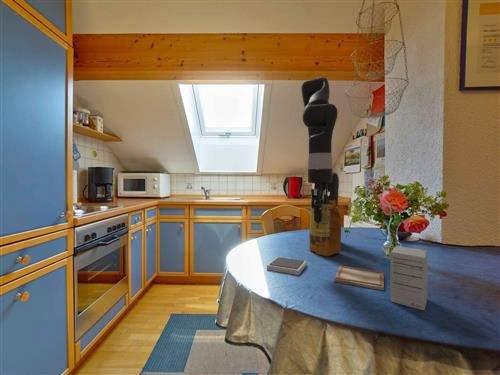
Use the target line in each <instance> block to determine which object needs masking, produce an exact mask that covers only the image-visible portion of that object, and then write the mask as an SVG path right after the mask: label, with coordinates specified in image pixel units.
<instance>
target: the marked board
mask: <svg viewBox="0 0 500 375" xmlns="http://www.w3.org/2000/svg"><path fill="white" fill-rule="evenodd" d="M333 280H334V281H333V283H338V284H345V285H350V286H356V287H361V288H367V289H368V288H369V289H373V290H380V291H385V290H384V288H385V287H384V286H385V285H384V283H385V282H384V280H385V279H384V271H379V270H372V269H366V268H360V267H359V268H358V267H350V266H346V265H345V266H344V265H340V266H339V268H338V270H337V272H336V275H335V277H334V278H333Z"/></svg>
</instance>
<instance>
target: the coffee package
mask: <svg viewBox="0 0 500 375" xmlns="http://www.w3.org/2000/svg"><path fill="white" fill-rule="evenodd" d="M336 204H337V201H330V205H331V210H330V236H329V240H328V241H325V242H318V241H313V240H311V239H310V231H309V232H308V233H309V234H308V235H309V251H310V252H315V254H317V255H318V256H324V257H330V256H333V255H337V254H340V253H342V248H341V246H342V243H341V242H342V241H341V240H342V216H341V214H340V212H339V208H338V209H337V206H336Z"/></svg>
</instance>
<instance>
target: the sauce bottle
mask: <svg viewBox="0 0 500 375" xmlns="http://www.w3.org/2000/svg"><path fill="white" fill-rule="evenodd" d="M327 184H328V183H323V189H326V194H325V197H324V203H322V221H321V222H315V221H314V209H313V208H312V199H311V201H310V222H309V224H310V225H309V232H310V238H309V240H310V239H311V240H313V241H318V242H325V241H328V240H329V236H330V210H331V205H330V201H329V197H328V196H329V193H328V194H327ZM321 199H322V198H321ZM316 204H318V203H316Z"/></svg>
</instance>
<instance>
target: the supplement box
mask: <svg viewBox="0 0 500 375" xmlns="http://www.w3.org/2000/svg"><path fill="white" fill-rule="evenodd" d="M428 253H429V252H428V250H426V249H422V248H414V247H407V246H398V245H395V246H394V248H393V249H391V252H390V268H389V269H390V271H389V272H390V276H389V277H390V278H389V279H390V282H389V286H390V287H389V298H390V299H389V301H390V302H391V303H392V302H393V303H396V304H399V305H402V306H406V307H410V308H413V309H417V310H421V311H425V310H426V305H427V302H428V265H429V264H428V260H429V259H428V255H429V254H428Z"/></svg>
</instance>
